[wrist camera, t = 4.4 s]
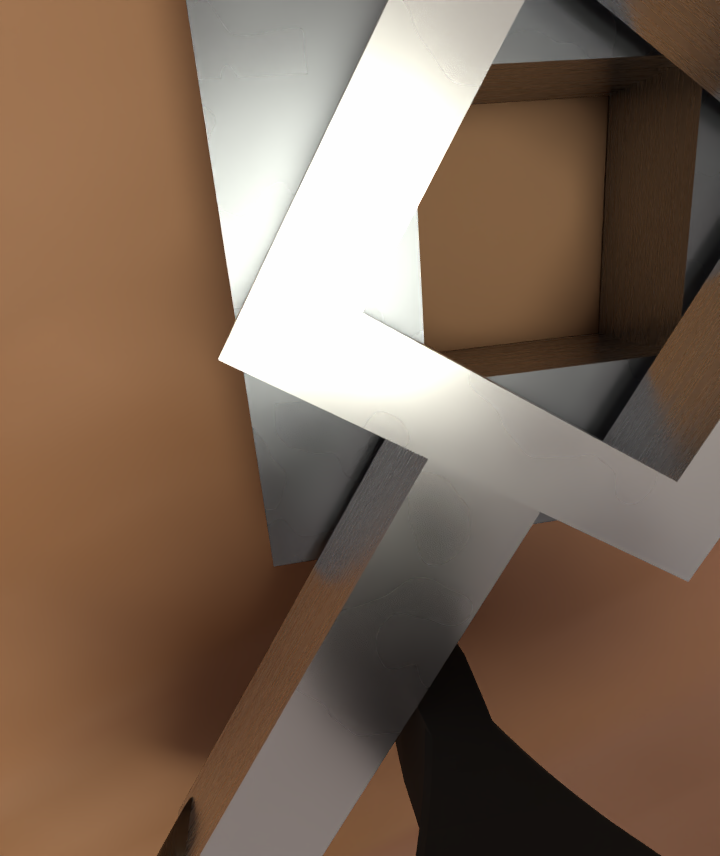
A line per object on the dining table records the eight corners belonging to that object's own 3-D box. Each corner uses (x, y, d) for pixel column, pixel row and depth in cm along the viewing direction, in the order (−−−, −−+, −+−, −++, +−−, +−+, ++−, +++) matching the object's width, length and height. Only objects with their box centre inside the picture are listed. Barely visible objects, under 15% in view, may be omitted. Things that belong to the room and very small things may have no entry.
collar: (353, 906, 12) (371, 1042, 10) (-9, 835, 10) (-80, 986, 8) (871, 126, 9) (1060, 88, 7) (490, -221, 7) (590, -428, 5)
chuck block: (705, 440, 13) (798, 480, 11) (271, 505, 12) (273, 566, 10) (765, -94, 10) (914, -196, 8) (182, -84, 9) (153, -203, 6)
